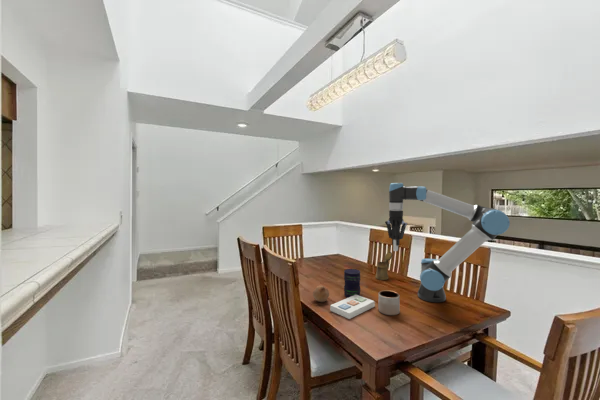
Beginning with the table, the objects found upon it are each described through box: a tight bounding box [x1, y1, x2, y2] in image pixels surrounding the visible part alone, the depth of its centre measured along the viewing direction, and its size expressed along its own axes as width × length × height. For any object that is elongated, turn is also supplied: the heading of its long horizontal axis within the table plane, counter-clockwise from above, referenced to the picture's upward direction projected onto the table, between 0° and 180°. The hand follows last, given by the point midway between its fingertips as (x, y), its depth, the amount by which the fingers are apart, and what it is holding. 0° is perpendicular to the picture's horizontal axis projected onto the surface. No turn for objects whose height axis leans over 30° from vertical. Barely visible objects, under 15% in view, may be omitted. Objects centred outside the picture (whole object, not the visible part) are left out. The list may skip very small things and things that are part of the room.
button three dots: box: [347, 300, 359, 306], centre depth 154 cm, size 5×5×3 cm
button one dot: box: [338, 304, 351, 310], centre depth 150 cm, size 5×5×3 cm
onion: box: [312, 285, 330, 303], centre depth 165 cm, size 10×9×10 cm
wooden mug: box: [375, 251, 393, 281], centre depth 204 cm, size 9×14×18 cm, turn 118°
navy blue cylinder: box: [343, 268, 361, 298], centre depth 173 cm, size 10×10×15 cm
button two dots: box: [355, 296, 368, 302], centre depth 159 cm, size 5×5×3 cm
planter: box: [377, 289, 401, 316], centre depth 150 cm, size 11×11×10 cm
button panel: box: [329, 295, 376, 320], centre depth 154 cm, size 13×22×3 cm, turn 131°
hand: (395, 250), depth 163 cm, fingers closed
